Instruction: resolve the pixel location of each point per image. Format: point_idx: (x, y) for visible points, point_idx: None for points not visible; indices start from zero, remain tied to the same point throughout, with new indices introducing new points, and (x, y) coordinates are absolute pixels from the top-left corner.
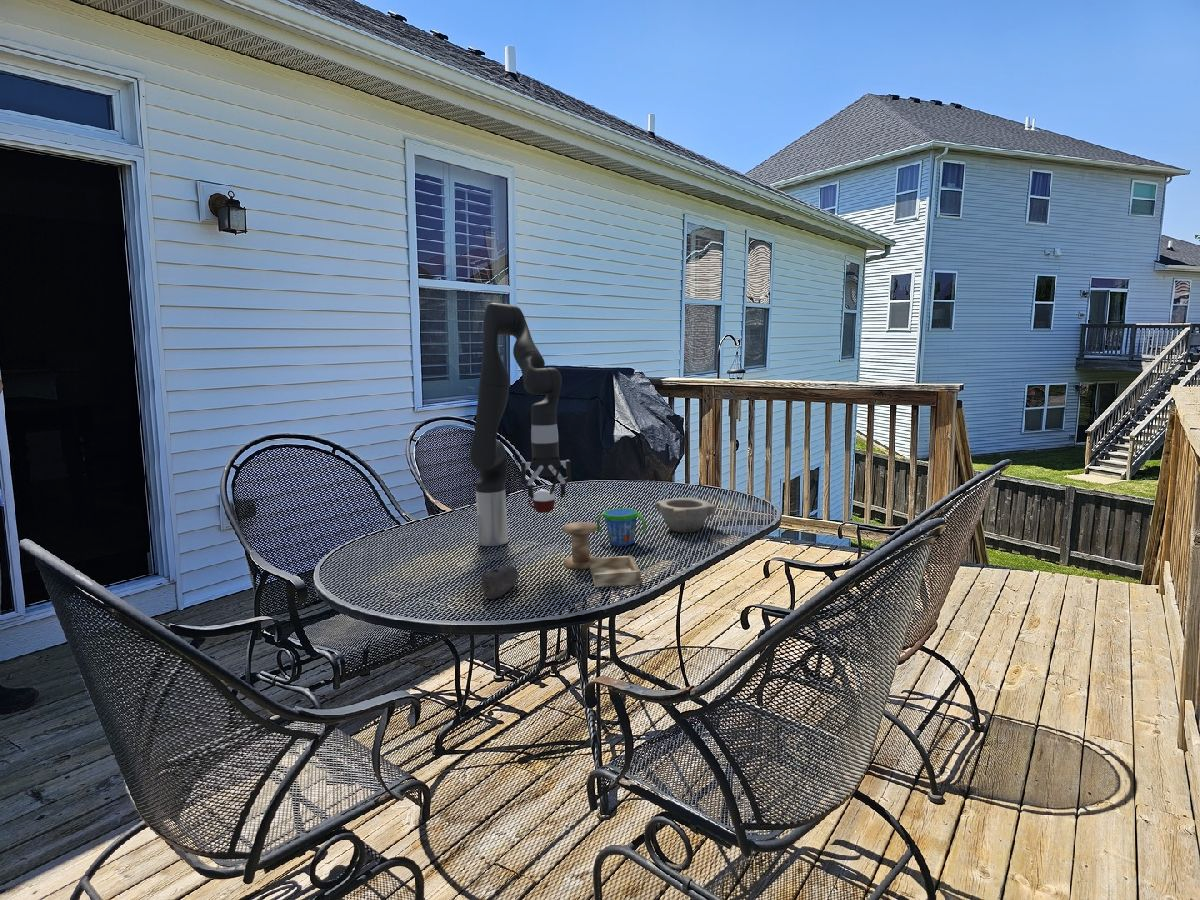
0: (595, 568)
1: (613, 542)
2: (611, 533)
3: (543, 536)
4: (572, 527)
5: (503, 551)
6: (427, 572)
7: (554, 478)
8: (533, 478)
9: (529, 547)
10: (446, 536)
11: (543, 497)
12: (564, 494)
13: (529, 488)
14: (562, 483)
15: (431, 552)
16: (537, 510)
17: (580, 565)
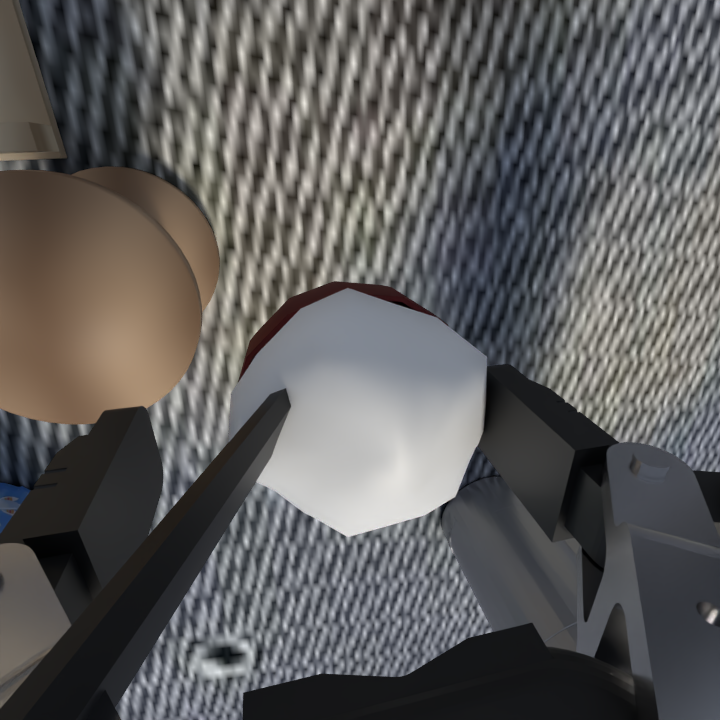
0: (16, 113)
1: (19, 494)
2: (5, 523)
3: (330, 572)
4: (114, 290)
5: None
6: (708, 228)
7: (153, 604)
8: (673, 538)
9: None
10: None
11: (367, 305)
12: (81, 442)
13: (584, 434)
14: (10, 555)
15: (655, 428)
16: (396, 303)
17: (116, 173)
